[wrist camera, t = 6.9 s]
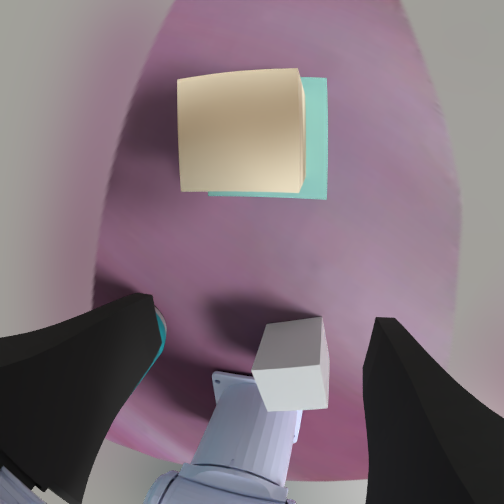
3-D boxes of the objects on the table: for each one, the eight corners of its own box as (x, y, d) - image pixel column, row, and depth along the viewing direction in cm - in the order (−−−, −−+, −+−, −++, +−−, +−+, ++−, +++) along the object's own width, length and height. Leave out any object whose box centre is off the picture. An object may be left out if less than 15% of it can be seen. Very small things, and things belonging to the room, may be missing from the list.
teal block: (325, 190, 16) (326, 199, 14) (225, 187, 18) (208, 196, 15) (325, 89, 14) (326, 78, 11) (223, 92, 15) (205, 83, 13)
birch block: (305, 176, 13) (298, 192, 9) (225, 175, 14) (181, 191, 10) (305, 95, 12) (297, 68, 7) (223, 98, 13) (177, 79, 8)
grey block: (329, 358, 20) (327, 407, 16) (279, 363, 22) (267, 411, 17) (322, 316, 19) (319, 364, 15) (266, 323, 20) (251, 370, 16)
